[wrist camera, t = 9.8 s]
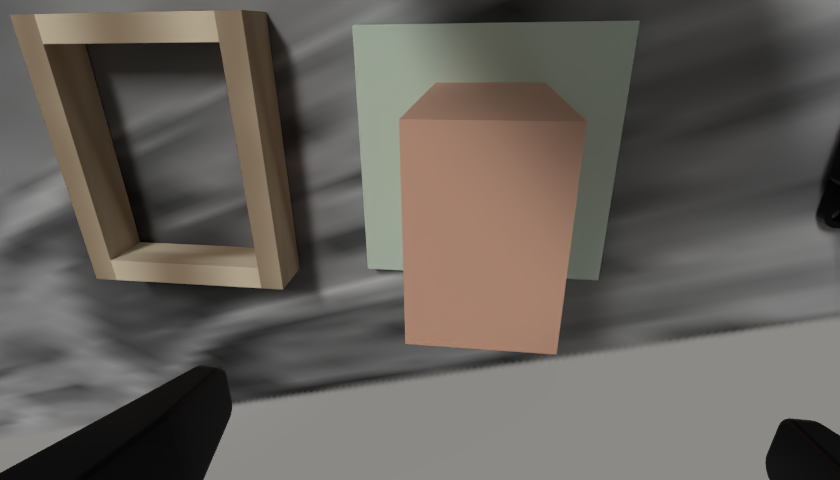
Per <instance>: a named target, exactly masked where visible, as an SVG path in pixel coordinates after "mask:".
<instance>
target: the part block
mask: <svg viewBox="0 0 840 480" xmlns="http://www.w3.org/2000/svg"><path fill="white" fill-rule="evenodd" d="M586 125H587V121H586V120H585V119H584V118H583V117H582V116H581V115H580V114H578V113H577V112H576V111H575V110H574V109H573V108H572V107H571V106H570V105H569V104H568V103H567V102H566V101H565V100H564V99H562V98H561V97H560V96H559V95H558V94H557V93H556V92H555V91H554V90H553V89H552V88H551V87H550V86H549V85H548V84H546V83H527V82H436V83H435V84H434V85H433V86H432V87H431V88H430V89H429V90H428V91H427V92H426V93H425V94H424V95H423V96H422V97H421V98H420V99H419V100H418V101H417V102H416V103H415V104H414V105H413V106H412V107H411V108H410V109H409V110H408V111H407V112H406V113H405V114H404V115H403V116H402V117H401V118H400V119H399V136H400V171H401V206H402V241H403V275H404V310H405V344H416V345H430V346H444V347H458V348H472V349H485V350H499V351H513V352H527V353H541V354H555V355H557V347H558V340H559V332H560V324H561V317H562V309H563V301H564V294H565V286H566V278H567V271H568V263H569V255H570V248H571V240H572V232H573V225H574V217H575V209H576V202H577V194H578V186H579V179H580V171H581V163H582V156H583V148H584V141H585V133H586Z"/></svg>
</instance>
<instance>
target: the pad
mask: <svg viewBox="0 0 840 480" xmlns="http://www.w3.org/2000/svg"><path fill="white" fill-rule="evenodd" d="M639 24H640V21H575V22H511V23H447V24H382V25H352V29H353V45H354V60H355V76H356V91H357V106H358V122H359V137H360V153H361V168H362V184H363V199H364V215H365V230H366V246H367V261H368V269H385V270H403V241H402V206H401V171H400V136H399V119H400V118H401V117H402V116H403V115H404V114H405V113H406V112H407V111H408V110H409V109H410V108H411V107H412V106H413V105H414V104H415V103H416V102H417V101H418V100H419V99H420V98H421V97H422V96H423V95H424V94H425V93H426V92H427V91H428V90H429V89H430V88H431V87H432V86H433V85H434V84H435V83H436V82H527V83H546V84H548V85H549V86H550V87H551V88H552V89H553V90H554V91H555V92H556V93H557V94H558V95H559V96H560V97H561V98H562V99H564V100H565V101H566V102H567V103H568V104H569V105H570V106H571V107H572V108H573V109H574V110H575V111H576V112H577V113H578V114H580V115H581V116H582V117H583V118H584V119H585V120H586V121H587V125H586V133H585V141H584V148H583V156H582V163H581V171H580V179H579V186H578V194H577V202H576V209H575V217H574V225H573V232H572V240H571V248H570V255H569V263H568V271H567V278H566V279H581V280H598V279H599V273H600V267H601V261H602V254H603V248H604V242H605V236H606V229H607V223H608V217H609V211H610V204H611V198H612V192H613V186H614V179H615V173H616V167H617V161H618V155H619V148H620V142H621V136H622V130H623V123H624V117H625V111H626V105H627V98H628V92H629V86H630V80H631V73H632V67H633V61H634V55H635V49H636V42H637V36H638V30H639Z"/></svg>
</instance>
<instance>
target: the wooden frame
mask: <svg viewBox="0 0 840 480" xmlns="http://www.w3.org/2000/svg"><path fill="white" fill-rule="evenodd" d="M10 17H11V20H12V23H13V26H14V29H15V32H16V35H17V38H18V41H19V44H20V47H21V50H22V53H23V56H24V60H25V63H26V66H27V69H28V72H29V75H30V78H31V81H32V84H33V87H34V90H35V93H36V96H37V99H38V102H39V105H40V108H41V111H42V114H43V117H44V120H45V123H46V126H47V129H48V132H49V135H50V138H51V141H52V144H53V147H54V150H55V153H56V156H57V159H58V162H59V165H60V168H61V172H62V175H63V178H64V181H65V184H66V187H67V190H68V193H69V196H70V199H71V202H72V205H73V208H74V211H75V214H76V217H77V220H78V223H79V226H80V229H81V232H82V235H83V238H84V241H85V244H86V247H87V250H88V253H89V256H90V259H91V262H92V265H93V268H94V271H95V274H96V277H97V279H110V280H127V281H145V282H162V283H179V284H196V285H214V286H231V287H248V288H265V289H284V288H285V286H286V285H287V284H288V283H289V281H290V280H291V279H292V278H293V276H294V275H295V274H296V273H297V271H298V270H299V269H300V267H299V260H298V252H297V245H296V237H295V229H294V222H293V214H292V206H291V199H290V191H289V183H288V176H287V168H286V160H285V153H284V145H283V137H282V130H281V122H280V115H279V107H278V99H277V92H276V84H275V76H274V69H273V61H272V53H271V46H270V38H269V30H268V23H267V15H266V12H259V11H246V10H224V11H175V12H125V13H75V14H26V15H10ZM181 42H219V43H220V49H221V55H222V61H223V67H224V73H225V79H226V84H227V90H228V96H229V102H230V108H231V114H232V119H233V125H234V131H235V137H236V143H237V149H238V155H239V160H240V166H241V172H242V178H243V184H244V190H245V195H246V201H247V207H248V213H249V219H250V225H251V230H252V236H253V242H254V247H232V246H211V245H189V244H168V243H146V242H140V239H139V236H138V232H137V229H136V225H135V222H134V218H133V214H132V211H131V207H130V204H129V200H128V196H127V193H126V189H125V186H124V182H123V178H122V175H121V171H120V168H119V164H118V160H117V157H116V153H115V150H114V146H113V142H112V139H111V135H110V132H109V128H108V124H107V121H106V117H105V114H104V110H103V106H102V103H101V99H100V96H99V92H98V88H97V85H96V81H95V78H94V74H93V70H92V67H91V63H90V60H89V56H88V52H87V49H86V45H85V44H92V43H181Z"/></svg>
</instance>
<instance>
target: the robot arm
mask: <svg viewBox="0 0 840 480" xmlns="http://www.w3.org/2000/svg"><path fill="white" fill-rule="evenodd" d="M829 177H830V179H829V182H828V185H827V188H826V190H825V193H824V196H823V199H822V202H821V205H820V207H819V210H818V219H819V220H820V221H821V222H822V223H824V224H825V225H827V226H829V227H832V228H840V213H839V214H838V216H836V217H834V218H832V214H833V213H834V212H835V211H837V210H840V145H839V148H838V151H837V153H836V156H835V159H834V162H833V165H832V168H831V171H830V173H829ZM231 411H232V400H231V395H230V391H229V386H228V381H227V376H226V373H225V371H224V369H223V368H221V367H217V366H206V365H200V366H197V367H195V368H193V369H191V370H189V371H187V372H186V373H184V374H182V375H180V376H178V377H176V378H175V379H173V380H171V381H169V382H167V383H165V384H163V385H162V386H160V387H158V388H156V389H154V390H152V391H151V392H149V393H147V394H145V395H143V396H141V397H140V398H138V399H136V400H134V401H132V402H130V403H128V404H127V405H125V406H123V407H121V408H119V409H117V410H116V411H114V412H112V413H110V414H108V415H106V416H104V417H103V418H101V419H99V420H97V421H95V422H93V423H92V424H90V425H88V426H86V427H84V428H82V429H81V430H79V431H77V432H75V433H73V434H71V435H69V436H68V437H66V438H64V439H62V440H60V441H58V442H57V443H55V444H53V445H51V446H49V447H47V448H46V449H44V450H42V451H40V452H38V453H36V454H34V455H33V456H31V457H29V458H27V459H25V460H23V461H22V462H20V463H18V464H16V465H14V466H12V467H10V468H9V469H7V470H5V471H3V472H1V473H0V480H203V479H204V477H205V475H206V472H207V470H208V467H209V465H210V463H211V460H212V458H213V456H214V454H215V451H216V449H217V446H218V444H219V442H220V439H221V437H222V435H223V433H224V430H225V428H226V425H227V423H228V421H229V418H230V415H231ZM766 470H767V474H768V477H769V479H770V480H840V436H839V435H838V434H836V433H835V432H833V431H831V430H830V429H828V428H827V427H825V426H824V425H822V424H820V423H818V422H816V421H811V420H801V419H785V420H783V421H782V422H781V423H780V425H779V427H778V429H777V431H776V434H775V436H774V439H773V441H772V444H771V446H770V449H769V451H768V453H767V456H766Z"/></svg>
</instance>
